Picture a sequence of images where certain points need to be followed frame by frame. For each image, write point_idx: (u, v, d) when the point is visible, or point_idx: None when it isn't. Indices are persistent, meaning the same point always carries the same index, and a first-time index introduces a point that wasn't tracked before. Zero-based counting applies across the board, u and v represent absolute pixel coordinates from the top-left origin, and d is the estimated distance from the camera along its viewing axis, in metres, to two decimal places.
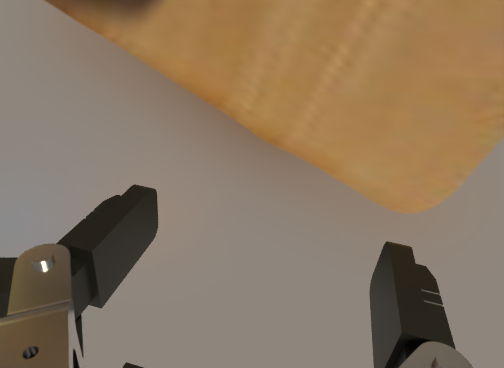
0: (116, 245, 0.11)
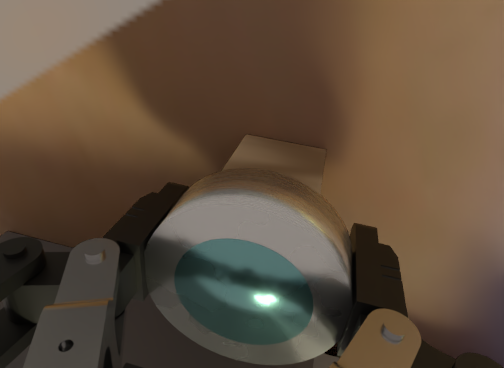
0: None
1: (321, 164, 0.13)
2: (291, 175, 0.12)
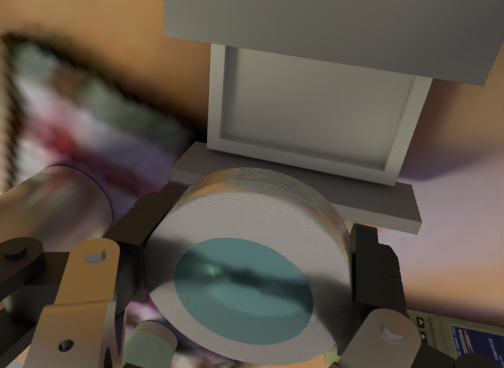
0: None
1: None
2: None
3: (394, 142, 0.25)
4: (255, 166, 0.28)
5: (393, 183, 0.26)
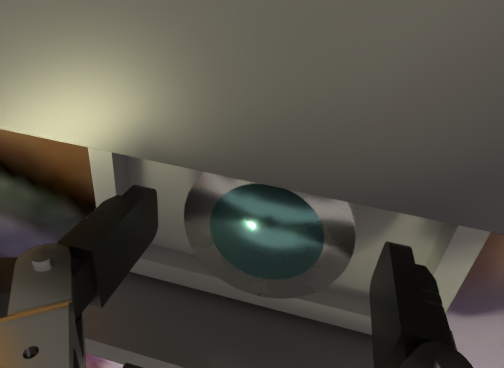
0: (116, 245, 0.11)
1: None
2: None
3: None
4: (184, 300, 0.16)
5: None
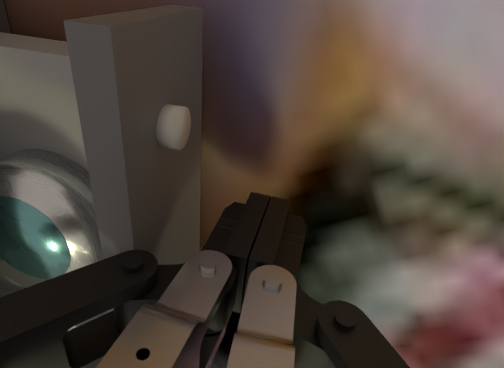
0: None
1: None
2: None
3: (43, 82, 0.12)
4: None
5: None
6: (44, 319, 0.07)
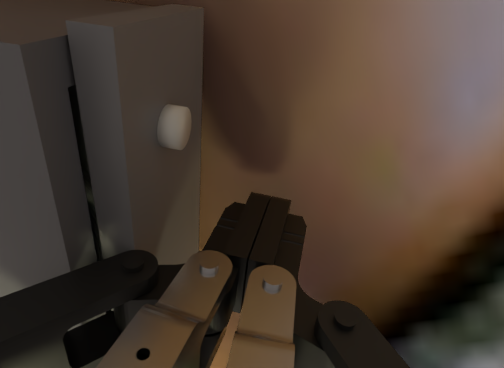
0: None
1: None
2: None
3: None
4: None
5: None
6: (44, 319, 0.07)
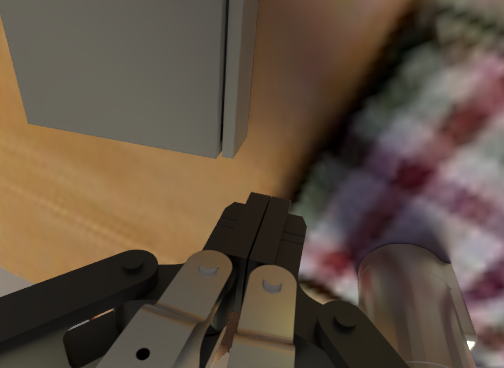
0: None
1: None
2: None
3: None
4: None
5: None
6: (44, 319, 0.07)
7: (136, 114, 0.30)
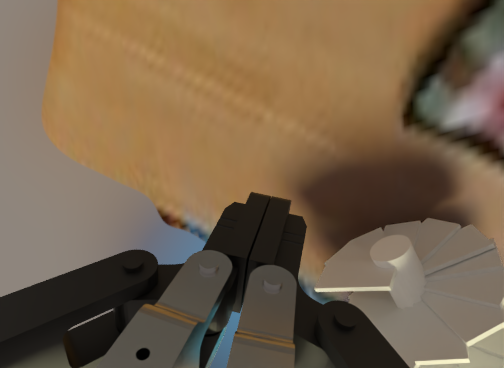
0: None
1: None
2: None
3: None
4: None
5: None
6: (44, 319, 0.07)
7: None
